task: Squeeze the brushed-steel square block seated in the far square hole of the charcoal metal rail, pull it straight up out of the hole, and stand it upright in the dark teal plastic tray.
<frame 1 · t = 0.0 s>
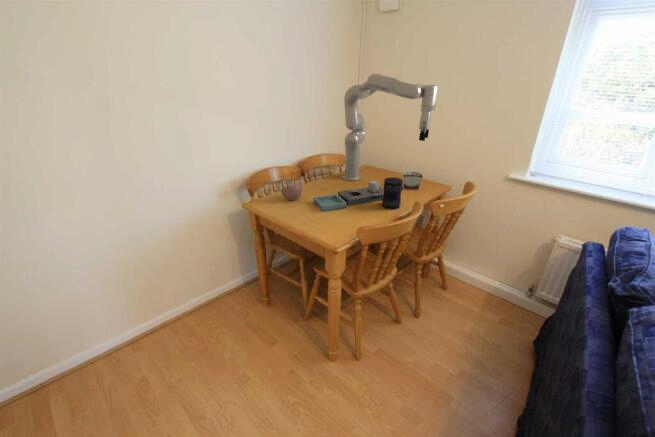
hand: (423, 139, 180), 31 cm above the table, tool pointing down, fingers open, 9 cm apart
food container: (410, 188, 195), on the table
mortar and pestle: (291, 199, 176), on the table
storage jar: (390, 206, 168), on the table
parts tray: (329, 205, 169), on the table
rack rail: (364, 198, 179), on the table
steel block: (372, 196, 181), resting in rack rail
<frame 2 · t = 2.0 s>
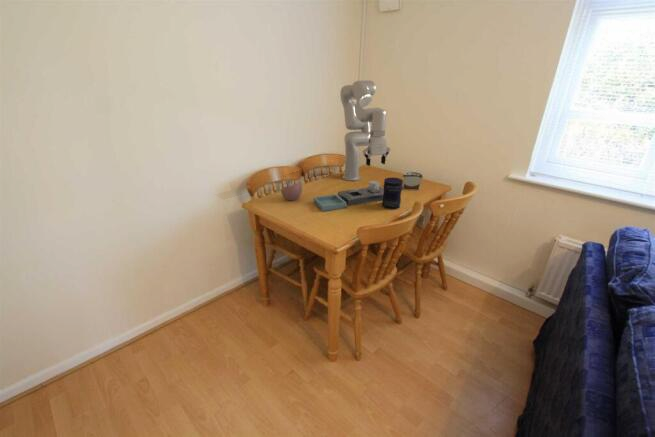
hand: (375, 164, 172), 20 cm above the table, tool pointing down, fingers open, 9 cm apart
nothing on the table moved.
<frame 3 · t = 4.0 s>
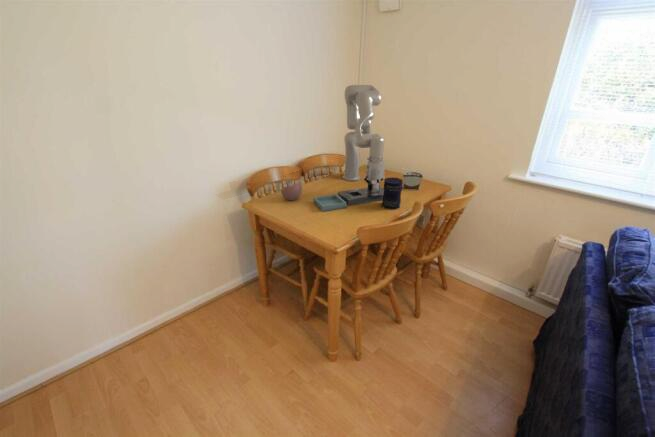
hand: (373, 189, 179), 5 cm above the table, tool pointing down, fingers closed on steel block, 4 cm apart
steel block: (373, 196, 181), resting in rack rail, touching gripper
everything else where it was.
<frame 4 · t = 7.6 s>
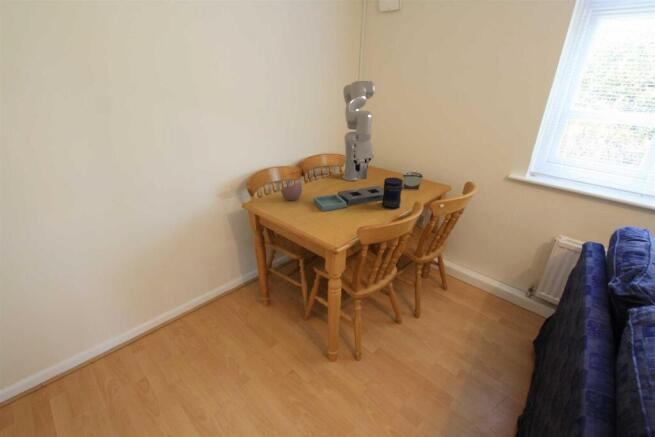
hand: (361, 170, 169), 18 cm above the table, tool pointing down, fingers closed on steel block, 4 cm apart
steel block: (361, 178, 171), point 13 cm above the table, touching gripper
everything else where it was.
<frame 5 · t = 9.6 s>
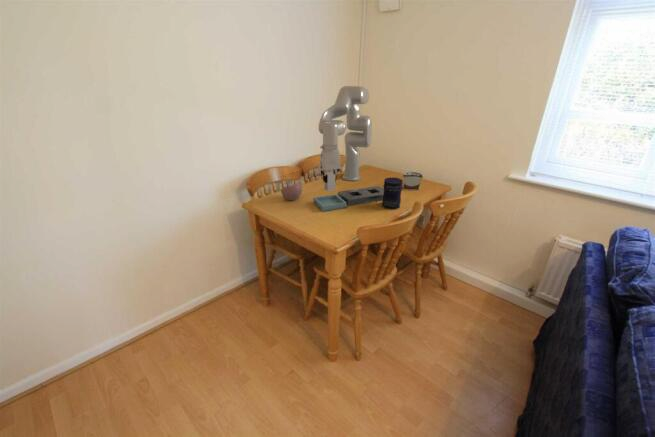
hand: (329, 181, 163), 14 cm above the table, tool pointing down, fingers closed on steel block, 4 cm apart
steel block: (329, 189, 165), point 9 cm above the table, touching gripper
everything else where it was.
when the fingers open (7 cm above the table, at t = 11.1 s): steel block drops 1 cm, resting on parts tray.
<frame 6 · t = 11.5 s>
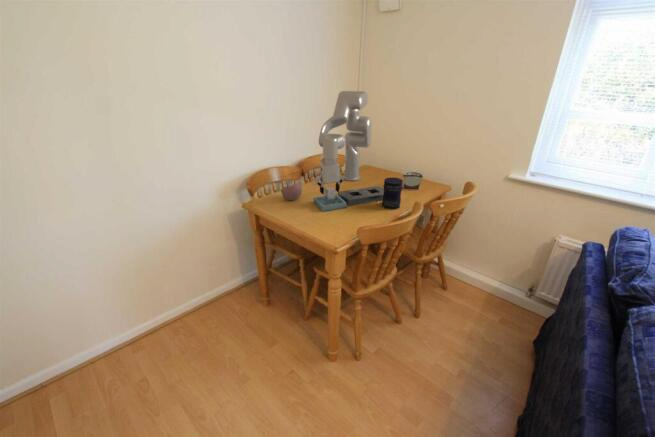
hand: (329, 192, 166), 8 cm above the table, tool pointing down, fingers open, 8 cm apart
steel block: (329, 203, 169), point 1 cm above the table, touching parts tray
everything else where it was.
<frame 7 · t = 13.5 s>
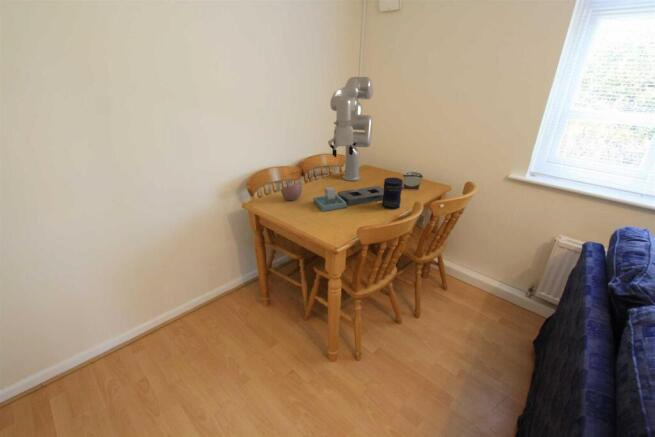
hand: (342, 155, 167), 25 cm above the table, tool pointing down, fingers open, 9 cm apart
nothing on the table moved.
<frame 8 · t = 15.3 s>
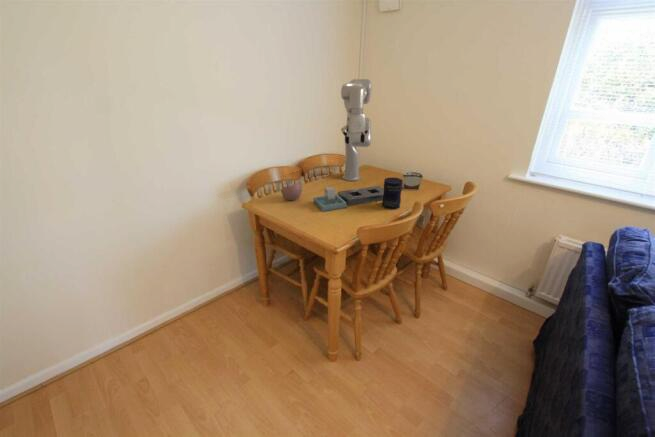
hand: (354, 142, 174), 30 cm above the table, tool pointing down, fingers open, 9 cm apart
nothing on the table moved.
at the end: steel block inside the target area on the parts tray (0.1 cm from its centre), point 0.8 cm above the parts tray's base; steel block tilted 0°; the gripper is holding nothing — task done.
